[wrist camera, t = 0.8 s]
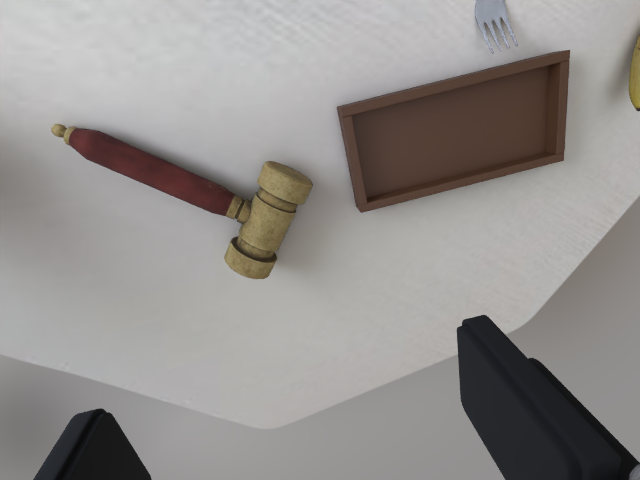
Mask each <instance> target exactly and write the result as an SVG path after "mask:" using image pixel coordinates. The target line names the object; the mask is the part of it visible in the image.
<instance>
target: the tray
mask: <svg viewBox="0 0 640 480" xmlns="http://www.w3.org/2000/svg"><path fill="white" fill-rule="evenodd" d="M569 58H570V50H565V51H558V52H552V53H548V54H544V55H540V56H536V57H532V58H528V59H524V60H520V61H516V62H513V63H509V64H505V65H501V66H497V67H493V68H489V69H485V70H481V71H477V72H473V73H469V74H465V75H461V76H457V77H453V78H449V79H445V80H441V81H437V82H433V83H429V84H425V85H421V86H417V87H413V88H410V89H406V90H402V91H398V92H394V93H390V94H386V95H382V96H378V97H374V98H370V99H366V100H362V101H358V102H354V103H350V104H346V105H342V106H338V107H337V110H338V115H339V120H340V125H341V130H342V135H343V140H344V146H345V151H346V156H347V161H348V166H349V171H350V176H351V181H352V186H353V192H354V197H355V202H356V207H357V208H358V209H359V211H360V212H361V213H362V212H366V211H370V210H374V209H377V208H381V207H385V206H389V205H393V204H397V203H401V202H405V201H409V200H412V199H416V198H420V197H424V196H428V195H432V194H436V193H440V192H443V191H447V190H451V189H455V188H459V187H463V186H467V185H471V184H474V183H478V182H482V181H486V180H490V179H494V178H498V177H502V176H506V175H509V174H513V173H517V172H521V171H525V170H529V169H533V168H537V167H540V166H544V165H548V164H552V163H556V162H560V161H563V160H564V148H565V131H566V113H567V95H568V77H569Z"/></svg>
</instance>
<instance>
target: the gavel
mask: <svg viewBox="0 0 640 480" xmlns="http://www.w3.org/2000/svg"><path fill="white" fill-rule="evenodd" d="M51 131H52V133H53V134H54V135H56V136H58V137H63V139H64V142H65V143H66V144H67V145H70V146H71V147H72V148H74V149H75V150H76V151H77V152H78V153H80V154H81V155H82V156H83V157H84V158H86V159H87V160H90V161H92V162H94V163H97V164H99V165H101V166H104V167H106V168H108V169H111V170H113V171H115V172H118V173H120V174H122V175H125V176H127V177H129V178H132V179H134V180H136V181H139V182H141V183H144V184H146V185H148V186H151V187H153V188H155V189H158V190H160V191H162V192H165V193H167V194H169V195H172V196H174V197H176V198H179V199H181V200H183V201H186V202H188V203H190V204H193V205H195V206H197V207H200V208H202V209H204V210H207V211H209V212H211V213H215V214H219V215H223V216H227V217H229V218H231V219H234V218H236V219H238V220H237V221H238V222H240V223H242V226H241V228H240V230H239V237H234V238H233V239H232V240H231V242H230V245H229V247H228V249H227V252H226V254H225V257H224V259H225V262H226V263H227V265H228V266H229V267H230V268H231V269H232V270H234V271H235V272H237V273H238V274H240V275H242V276H245V277H248V278H252V279H264V278H267V277H268V276H269V274H270V272H271V270H272V268H273V266H274V264H275V262H276V260H277V256H276V254H275V251H276V250H278V248H279V246H280V244H281V242H282V240H283V238H284V236H285V234H286V232H287V230H288V228H289V226H290V223H291V221H292V219H293V217H294V215H295V213H296V210H295V209H296V207H297V205H298V204H304V203H305V200H306V198H307V196H308V194H309V192H310V190H311V188H312V186H313V184H312V182H311V181H310V180H309V179H308V178H307V177H306V176H304V175H302V174H301V173H299V172H297V171H295V170H294V169H291V168H289V167H287V166H285V165H282V164H280V163H277V162H273V161H268V162H265V164H264V166H263V168H262V170H261V173H260V175H259V177H258V180H257V183H258V184H259V185H260V186H261V187H260V189H259V191H258V192H256V193H255V196H254V198H253V200H252V201H250V200H247V199H246V201H245V200H243V198H242V197H240V196H238V195H235V194H234V193H232V192H231V191H229V190H228V189H226V188H225V187H223V186H221V185H219V184H216V183H214V182H212V181H210V180H207V179H205V178H203V177H201V176H198V175H196V174H194V173H192V172H189V171H187V170H185V169H183V168H180V167H178V166H176V165H174V164H172V163H169V162H167V161H165V160H163V159H160V158H158V157H156V156H154V155H151V154H149V153H147V152H145V151H142V150H140V149H138V148H136V147H133V146H131V145H129V144H127V143H124V142H122V141H120V140H118V139H115V138H113V137H111V136H109V135H107V134H104V133H102V132H100V131H95V130H87V129H79V128H76V127H69V128H68V129H67V128H66V127H65V126H63V125H61V124H54V125H53V126H52V129H51Z"/></svg>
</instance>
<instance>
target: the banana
mask: <svg viewBox="0 0 640 480" xmlns="http://www.w3.org/2000/svg"><path fill="white" fill-rule="evenodd" d="M629 95H630V99H631V102H632V104H633V106H634V107H635V109H636V110H637V111H640V36H639V38H638V40H637V43H636V46H635V49H634V53H633V57H632V62H631V69H630V77H629Z"/></svg>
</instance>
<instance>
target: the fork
mask: <svg viewBox="0 0 640 480" xmlns="http://www.w3.org/2000/svg"><path fill="white" fill-rule="evenodd" d="M475 15H476V19H477V22H478V24H479V27H480V29H481V32H482V34H483V36H484V38H485V41H486V43H487V45H488V47H489V49H490V51H491V53H492V54H493V53H494V52H493V50H492V48H491V45H490V42H489V39H488V36H487V33H486V30H485V27H484V23H486V24H487V25H488V27H489V29H490V31H491V34H492V36H493V38H494V40H495V42H496V44H497V46H498V48H499V50H500V51H501V47H500V45H499V42H498V39H497V37H496V34H495V31H494V28H493V24H492V21H493V20H494V21H495V23H496V25H497V27H498V29H499V31H500V33H501V35H502V37H503V39H504V41H505V43H506V45H507V47H508V49H509V48H510V47H509V44H508V42H507V39H506V37H505V34H504V31H503V28H502V25H501V21H500V18H502V19H503V20H504V22H505V24H506V26H507V29H508V31H509V33H510V35H511V37H512V39H513V41H514V43H515V45H516V46H518V44H517V42H516V39H515V37H514V34H513V31H512V28H511V26H510V23H509V19H508V16H507V11H506V6H505V2H504V0H477V2H476V7H475Z"/></svg>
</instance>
